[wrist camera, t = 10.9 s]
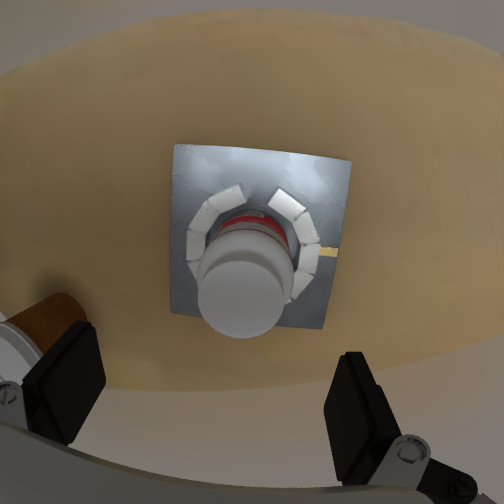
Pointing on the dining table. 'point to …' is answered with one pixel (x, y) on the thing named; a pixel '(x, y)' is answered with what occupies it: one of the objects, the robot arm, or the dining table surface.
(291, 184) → the socket plate
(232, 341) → the dining table surface
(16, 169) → the dining table surface
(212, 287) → the pill bottle
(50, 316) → the disposable coffee cup
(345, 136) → the dining table surface
